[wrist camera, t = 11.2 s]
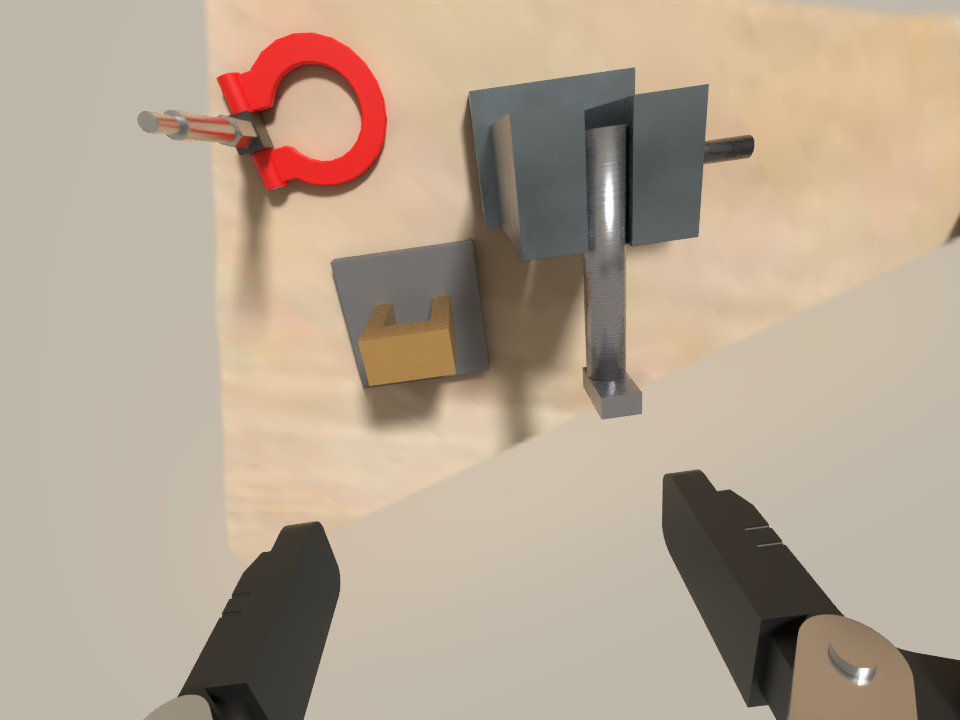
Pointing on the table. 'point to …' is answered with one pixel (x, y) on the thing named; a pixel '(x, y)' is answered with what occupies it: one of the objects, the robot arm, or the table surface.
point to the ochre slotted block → (409, 345)
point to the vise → (595, 190)
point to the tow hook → (259, 94)
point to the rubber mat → (416, 295)
